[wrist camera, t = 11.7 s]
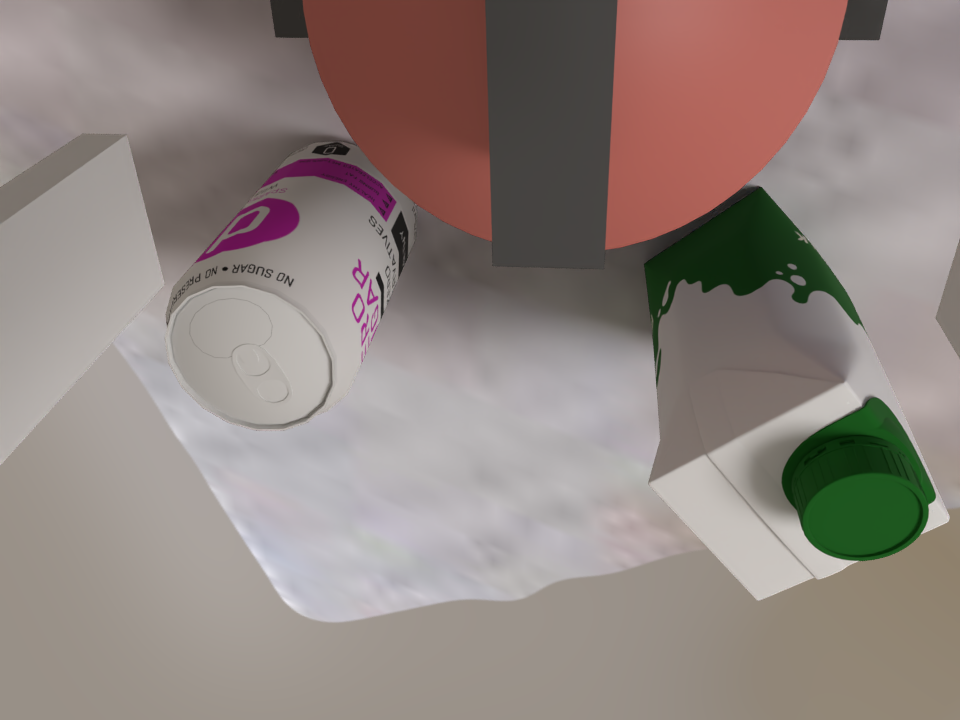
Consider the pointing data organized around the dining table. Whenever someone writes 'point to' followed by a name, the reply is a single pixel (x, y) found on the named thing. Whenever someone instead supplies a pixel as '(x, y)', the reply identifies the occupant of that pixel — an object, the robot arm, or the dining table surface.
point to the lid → (571, 108)
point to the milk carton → (777, 407)
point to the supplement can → (291, 291)
